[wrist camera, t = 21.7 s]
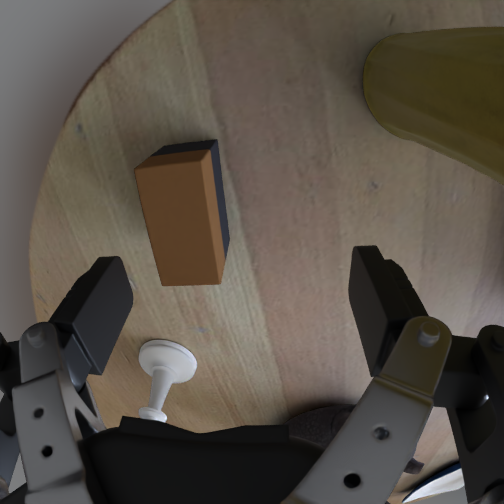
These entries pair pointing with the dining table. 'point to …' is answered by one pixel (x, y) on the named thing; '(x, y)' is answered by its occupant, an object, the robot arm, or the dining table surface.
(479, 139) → the vase
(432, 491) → the plate
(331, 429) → the teapot
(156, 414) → the chess piece
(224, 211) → the eraser
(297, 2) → the dining table surface
